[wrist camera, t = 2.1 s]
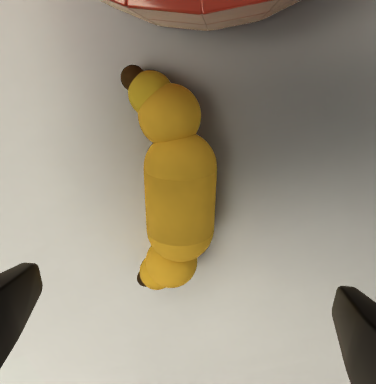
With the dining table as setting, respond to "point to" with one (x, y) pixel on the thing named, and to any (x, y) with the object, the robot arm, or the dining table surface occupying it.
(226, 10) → the bowl
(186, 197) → the banana
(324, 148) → the dining table surface
